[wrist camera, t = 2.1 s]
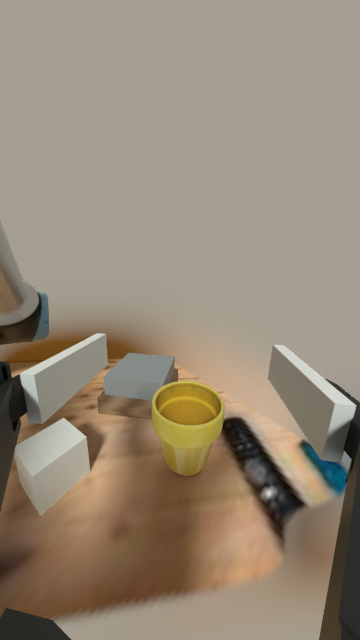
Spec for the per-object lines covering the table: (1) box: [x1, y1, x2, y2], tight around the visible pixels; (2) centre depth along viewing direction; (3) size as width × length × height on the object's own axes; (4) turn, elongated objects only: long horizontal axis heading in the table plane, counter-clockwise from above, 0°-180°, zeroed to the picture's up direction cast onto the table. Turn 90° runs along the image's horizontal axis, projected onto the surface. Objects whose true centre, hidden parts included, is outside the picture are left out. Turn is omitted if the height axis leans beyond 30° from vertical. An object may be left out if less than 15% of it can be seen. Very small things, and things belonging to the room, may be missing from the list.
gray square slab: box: [104, 353, 175, 401], centre depth 41 cm, size 12×12×4 cm
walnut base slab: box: [98, 369, 178, 420], centre depth 42 cm, size 14×14×4 cm
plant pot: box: [152, 381, 224, 476], centre depth 28 cm, size 10×10×10 cm
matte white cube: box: [14, 418, 90, 516], centre depth 24 cm, size 6×6×6 cm
